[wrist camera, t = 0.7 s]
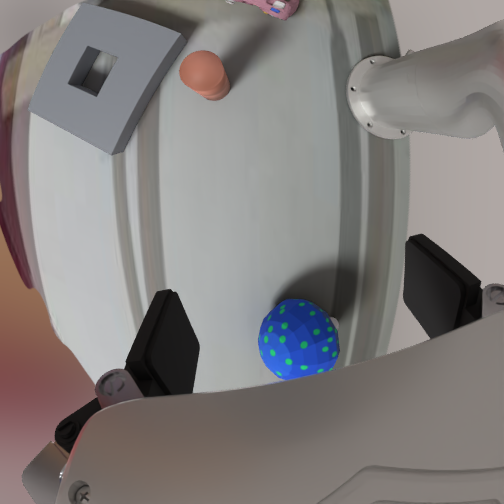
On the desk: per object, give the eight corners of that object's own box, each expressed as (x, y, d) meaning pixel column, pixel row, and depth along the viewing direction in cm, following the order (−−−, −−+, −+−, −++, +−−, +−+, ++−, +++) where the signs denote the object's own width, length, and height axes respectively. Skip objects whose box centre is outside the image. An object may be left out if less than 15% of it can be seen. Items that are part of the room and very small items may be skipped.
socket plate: (94, 10, 25) (82, 2, 22) (187, 41, 30) (181, 33, 26) (42, 109, 32) (27, 110, 28) (123, 151, 36) (111, 155, 32)
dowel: (210, 68, 32) (194, 44, 21) (235, 81, 32) (230, 61, 22) (194, 92, 33) (171, 78, 22) (219, 105, 34) (207, 96, 23)
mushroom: (360, 370, 44) (301, 415, 35) (302, 343, 55) (241, 372, 46) (372, 296, 41) (309, 331, 32) (305, 276, 52) (238, 297, 43)
